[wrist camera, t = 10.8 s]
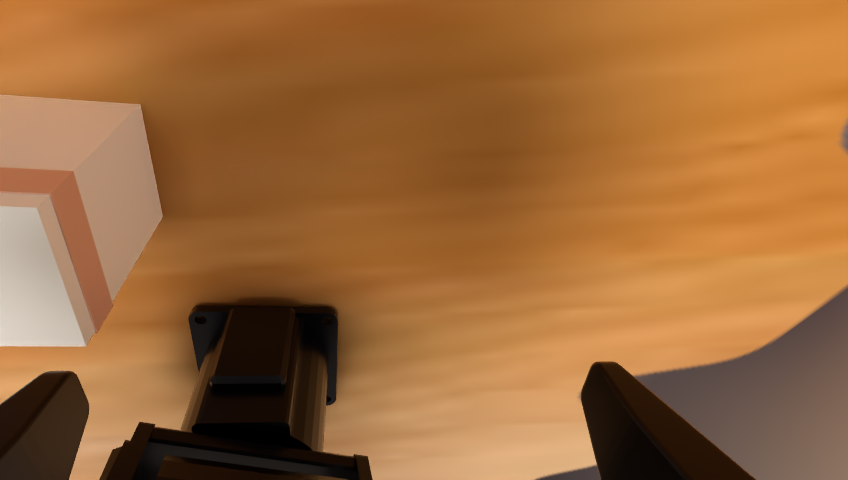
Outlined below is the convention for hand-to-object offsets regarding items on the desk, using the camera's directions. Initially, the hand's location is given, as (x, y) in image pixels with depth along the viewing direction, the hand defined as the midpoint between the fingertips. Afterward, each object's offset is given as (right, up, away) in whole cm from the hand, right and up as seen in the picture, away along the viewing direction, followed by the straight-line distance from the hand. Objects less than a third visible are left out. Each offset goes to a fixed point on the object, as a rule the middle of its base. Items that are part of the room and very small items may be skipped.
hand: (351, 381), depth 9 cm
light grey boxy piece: (-11, +5, +10) cm, 16 cm away
